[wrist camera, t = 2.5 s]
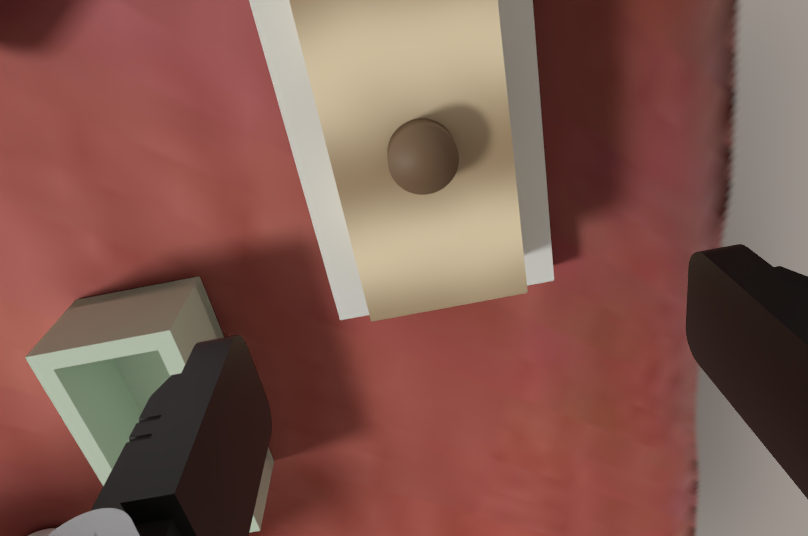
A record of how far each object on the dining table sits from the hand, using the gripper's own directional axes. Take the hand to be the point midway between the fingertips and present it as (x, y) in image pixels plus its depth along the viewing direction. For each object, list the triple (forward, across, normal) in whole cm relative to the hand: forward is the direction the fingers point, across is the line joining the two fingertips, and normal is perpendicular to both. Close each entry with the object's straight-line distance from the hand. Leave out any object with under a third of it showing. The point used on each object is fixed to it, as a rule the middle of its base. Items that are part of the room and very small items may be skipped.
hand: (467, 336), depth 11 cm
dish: (+15, +14, +11) cm, 24 cm away
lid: (+14, 0, 0) cm, 14 cm away
